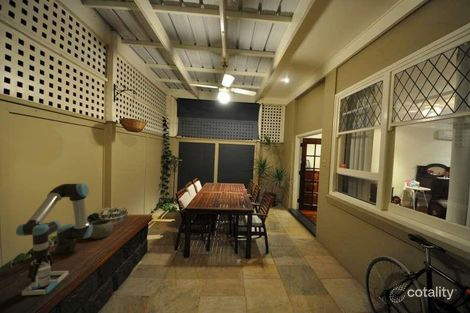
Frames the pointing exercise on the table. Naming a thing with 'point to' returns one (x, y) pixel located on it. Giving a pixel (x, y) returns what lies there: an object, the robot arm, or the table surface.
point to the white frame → (51, 286)
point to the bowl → (101, 228)
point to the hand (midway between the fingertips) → (41, 281)
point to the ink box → (43, 275)
